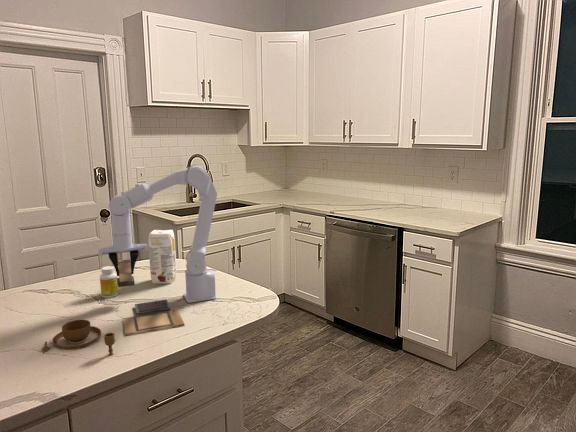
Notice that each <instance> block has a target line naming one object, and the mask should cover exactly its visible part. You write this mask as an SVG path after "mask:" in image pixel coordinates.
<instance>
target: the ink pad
mask: <svg viewBox="0 0 576 432" xmlns="http://www.w3.org/2000/svg"><path fill="white" fill-rule="evenodd" d="M134 309H135V313H136V316H140V315H146V314H152V313H159V312H165V311H172V310H171V305H170V303H169V301H168V299H160V300H154V301H146V302H140V303H134Z"/></svg>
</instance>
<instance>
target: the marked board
mask: <svg viewBox="0 0 576 432" xmlns="http://www.w3.org/2000/svg"><path fill="white" fill-rule="evenodd" d="M122 320H123V325H124V332H125V337H127V336H132V335H140V334H145V333H149V332H155V331H162V330H166V329H167V330H168V329H173V328H178V327H185V322H184V320H183V318H182V316H181V313H180V311H179V309H172V310H171V311H165V312H159V313H152V314H146V315H140V316H137V315H134V316H129V317H127V316H126V317H123V318H122Z"/></svg>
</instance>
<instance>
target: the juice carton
mask: <svg viewBox="0 0 576 432" xmlns="http://www.w3.org/2000/svg"><path fill="white" fill-rule="evenodd" d="M147 243H148V244H147V245H148V258H149V259H148V260H149V272H150V273H149V274H150V279H151V282H152V284H154V285H157V284H160V285H161V284H164V285H165V284H166V285H167V284H172V283H173V282H174V281H175V279H176V276H177V255H176V254H177V252H176V238H175V233H174V230H173V229H166V230H164V229H163V230H162V229H153V230H152V231H151V232H149V234H148V242H147Z"/></svg>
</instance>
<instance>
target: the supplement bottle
mask: <svg viewBox="0 0 576 432" xmlns="http://www.w3.org/2000/svg"><path fill="white" fill-rule="evenodd" d="M100 272H101V274H100V276H99V284H100V295H101V297H102V298H105V299H107V298H109V299H111V298H113V297H114V298H115V297H116V296H118V294H119V287H118V284H117V278H118V276H117V273H116V272H115V267H114V265H113V266H111V265H107V266H103V267H101V269H100Z"/></svg>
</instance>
